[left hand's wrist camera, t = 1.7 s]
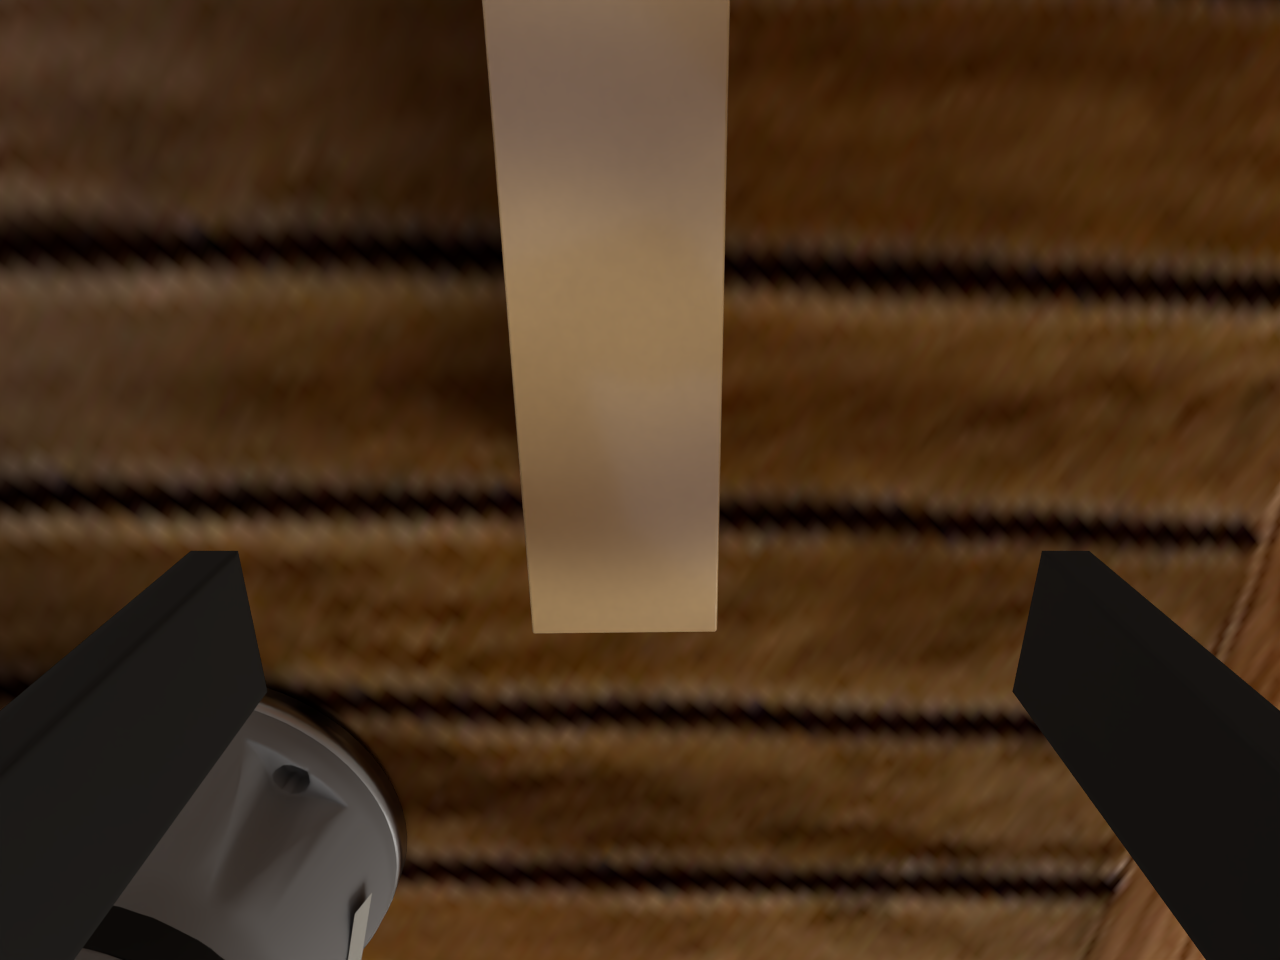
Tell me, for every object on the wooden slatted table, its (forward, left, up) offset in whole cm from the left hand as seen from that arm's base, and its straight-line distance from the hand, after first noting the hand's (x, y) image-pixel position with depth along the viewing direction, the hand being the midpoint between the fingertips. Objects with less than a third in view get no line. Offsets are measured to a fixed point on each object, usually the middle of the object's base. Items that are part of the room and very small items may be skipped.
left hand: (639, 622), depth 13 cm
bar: (-1, +8, -14) cm, 17 cm away
